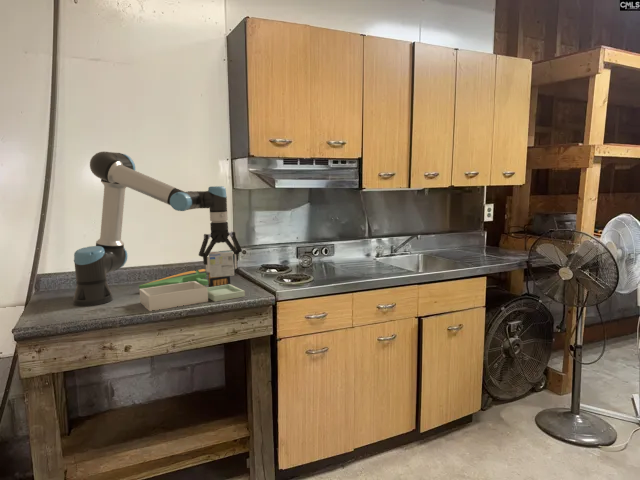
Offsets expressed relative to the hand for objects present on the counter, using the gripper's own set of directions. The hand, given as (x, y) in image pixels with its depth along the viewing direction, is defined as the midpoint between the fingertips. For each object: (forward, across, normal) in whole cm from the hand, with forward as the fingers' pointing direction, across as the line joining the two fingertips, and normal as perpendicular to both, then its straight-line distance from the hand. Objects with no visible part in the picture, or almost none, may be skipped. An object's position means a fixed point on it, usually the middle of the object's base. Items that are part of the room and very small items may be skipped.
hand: (221, 270), depth 199 cm
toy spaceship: (+12, -14, +29) cm, 34 cm away
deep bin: (+11, -21, +2) cm, 24 cm away
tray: (+11, 0, 0) cm, 11 cm away
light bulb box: (+3, 0, 0) cm, 3 cm away
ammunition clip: (+12, +5, +16) cm, 21 cm away
